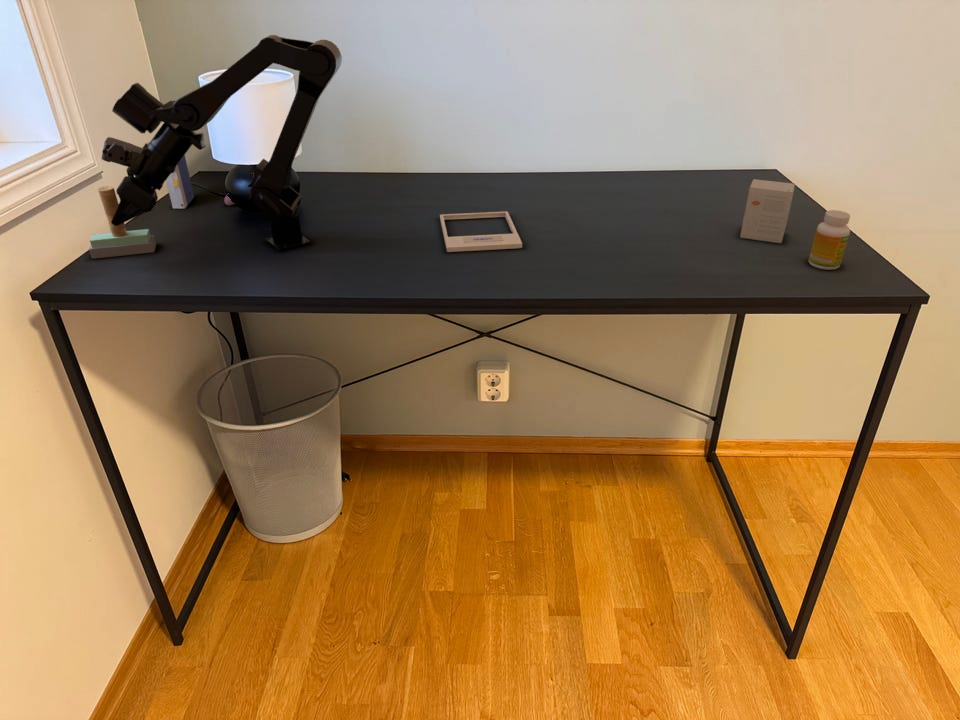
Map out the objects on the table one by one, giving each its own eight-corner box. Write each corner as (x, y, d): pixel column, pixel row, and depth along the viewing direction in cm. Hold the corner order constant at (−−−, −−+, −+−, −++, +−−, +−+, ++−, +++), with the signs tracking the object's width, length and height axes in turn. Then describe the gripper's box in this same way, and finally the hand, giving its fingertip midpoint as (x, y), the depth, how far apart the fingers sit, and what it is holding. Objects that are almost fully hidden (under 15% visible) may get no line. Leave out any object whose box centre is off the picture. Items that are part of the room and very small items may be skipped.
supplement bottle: (837, 273, 123) (852, 221, 118) (805, 266, 126) (819, 215, 120) (841, 262, 127) (856, 212, 122) (810, 256, 129) (824, 206, 124)
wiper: (156, 244, 136) (139, 182, 129) (154, 252, 132) (136, 188, 126) (95, 251, 133) (75, 187, 126) (92, 259, 130) (70, 194, 123)
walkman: (182, 197, 159) (169, 145, 153) (194, 197, 160) (182, 144, 153) (172, 209, 153) (158, 154, 146) (184, 208, 153) (171, 154, 147)
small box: (783, 234, 139) (796, 183, 133) (781, 244, 134) (794, 191, 129) (742, 228, 142) (753, 178, 136) (738, 238, 137) (749, 186, 132)
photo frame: (446, 246, 131) (439, 213, 146) (447, 252, 131) (439, 218, 147) (522, 242, 132) (507, 210, 148) (522, 248, 133) (507, 215, 148)
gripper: (129, 110, 129) (84, 174, 132) (114, 134, 113) (63, 206, 117) (184, 149, 135) (139, 209, 138) (176, 176, 119) (126, 243, 123)
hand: (117, 215), depth 129 cm, fingers open, 9 cm apart
